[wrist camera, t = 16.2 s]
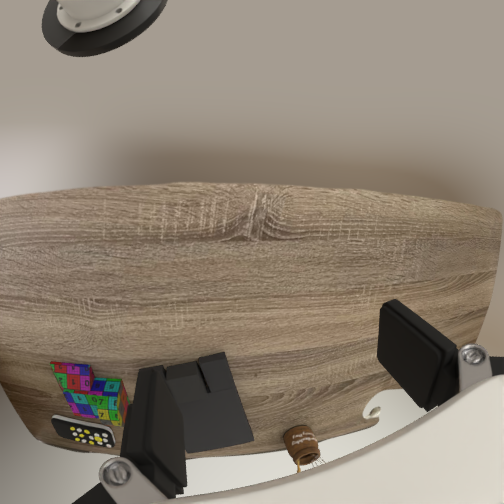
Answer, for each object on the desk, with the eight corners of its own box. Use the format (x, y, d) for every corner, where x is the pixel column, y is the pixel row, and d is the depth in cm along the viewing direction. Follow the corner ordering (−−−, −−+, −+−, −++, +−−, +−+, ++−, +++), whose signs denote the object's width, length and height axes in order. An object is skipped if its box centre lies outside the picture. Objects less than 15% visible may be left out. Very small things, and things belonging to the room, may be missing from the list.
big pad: (139, 369, 37) (138, 375, 35) (224, 351, 38) (225, 358, 37) (187, 447, 44) (187, 453, 43) (252, 435, 46) (254, 440, 44)
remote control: (51, 411, 37) (48, 419, 35) (111, 424, 39) (109, 432, 38) (60, 430, 38) (57, 437, 36) (116, 442, 41) (115, 450, 39)
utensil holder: (307, 438, 49) (327, 481, 38) (278, 443, 48) (295, 489, 37) (314, 422, 48) (336, 467, 37) (283, 427, 46) (302, 475, 35)
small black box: (166, 366, 38) (165, 380, 35) (196, 360, 38) (197, 374, 35) (178, 389, 39) (178, 403, 36) (206, 384, 40) (207, 398, 37)
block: (117, 366, 36) (109, 397, 30) (129, 403, 38) (125, 433, 32) (51, 361, 34) (36, 388, 27) (67, 397, 36) (57, 425, 30)
